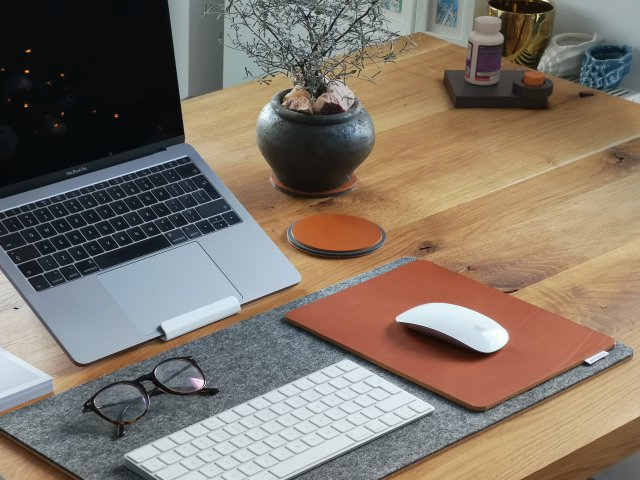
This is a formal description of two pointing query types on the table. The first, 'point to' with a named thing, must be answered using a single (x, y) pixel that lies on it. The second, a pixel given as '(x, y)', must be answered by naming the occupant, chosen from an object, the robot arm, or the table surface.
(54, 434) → the table surface
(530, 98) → the scale
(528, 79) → the button
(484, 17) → the pill bottle
